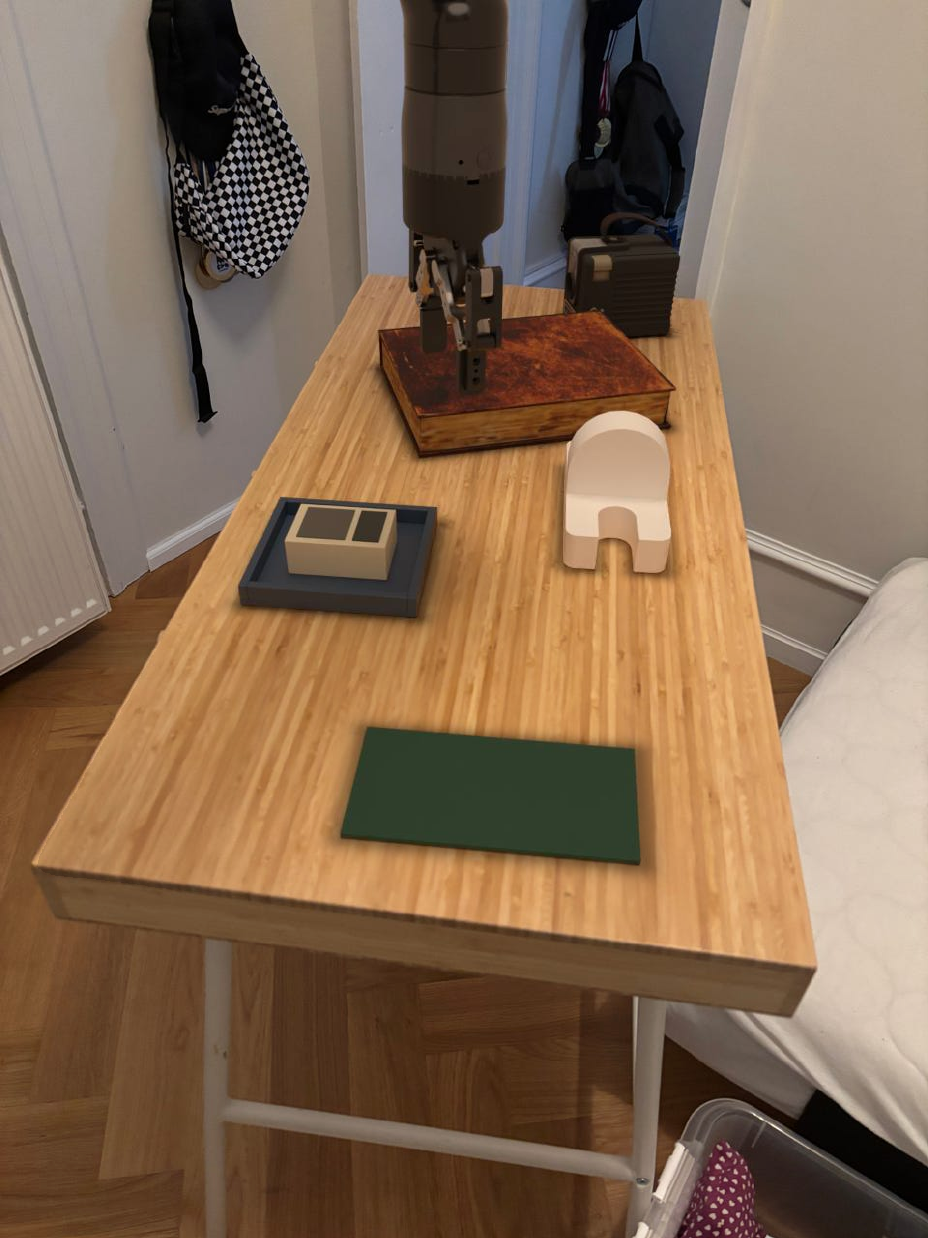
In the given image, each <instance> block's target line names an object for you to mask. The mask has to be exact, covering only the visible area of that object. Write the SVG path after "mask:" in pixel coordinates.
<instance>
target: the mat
mask: <svg viewBox="0 0 928 1238" xmlns="http://www.w3.org/2000/svg"><path fill="white" fill-rule="evenodd" d="M636 766H637V765H636V750H635V748H630V747H629V748H628V747H619V746H618V747H616V746H606V745H593V744H583V743H581V744H580V743H569V742H559V741H558V742H555V741H546V740H544V741H543V740H534V739H533V740H532V739H521V738H508V737H507V738H506V737H495V736H486V735H485V736H484V735H483V736H482V735H473V734H459V733H450V732H449V733H447V732H436V731H423V730H414V729H413V730H411V729H399V728H386V727H375V726H374V727H373V726H367V727H366V731H365V734H364V738H363V743H362V746H361V751H360V754H359V758H358V762H357V765H356V770H355V774H354V778H353V781H352V786H351V790H350V794H349V797H348V802H347V806H346V809H345V810H346V811H345V813H344V818H343V822H342V826H341V830H340V832H339V833H340V838H346V839H347V838H349V839H357V840H358V839H359V840H369V841H379V842H380V841H381V842H390V843H403V844H413V845H422V846H423V845H425V846H435V847H445V848H446V847H447V848H458V849H469V850H478V851H479V850H480V851H489V852H490V851H491V852H499V853H511V854H523V855H533V856H544V857H557V858H566V859H567V858H568V859H577V860H588V861H600V862H611V863H622V864H633V865H640V864H641V846H640V845H641V844H640V843H641V842H640V826H639V825H640V824H639V823H640V821H639V808H638V807H639V804H638V787H637V786H638V785H637V768H636Z"/></svg>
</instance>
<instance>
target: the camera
mask: <svg viewBox="0 0 928 1238" xmlns="http://www.w3.org/2000/svg"><path fill="white" fill-rule="evenodd" d="M620 220H636V221H642V222H644V223H647V224H649V225H651V226H654V227H655V228H656V229H658V230H659V231H660V233H661V234H662V236H663V238H664V239H663V238H662V237H660V236H659V235H658V234H657V233H656V234H655V233H651V234H648V233H647V234H633V235H631V234H630V235H608V230H609V227H610V226H611V225H612V224H613V223H615V222H617V221H620ZM599 230H600V236H599V235H598V236H597V235H596V236H594V235H593V236H573V237H571V238H569V239H568V241H567V251H566V263H565V277H564V291H563V304H562V314H563V313H574V312H585V311H596V310H601V311H602V312H603V313H604V314H605V315H606V316H607V317H608V318H609V319H610V320H611V321H612V322H613V323H614V324H615V325H616V326H617V327H618V328H619V329H620V330H621V331H622V332H623V333H624V334H625V336H626V337H627V338H630V337H642V336H643V337H644V336H656V335H659V336H660V335H668V334H669V333H670V328H671V322H672V320H671V316H672V310H673V304H674V298H675V291H676V285H677V278H678V271H679V270H680V264H681V255H680V254H679V252H678V251H676V250H675V249H674V245H673V242H672V239H671V238H670V236H669V235H668V233H667V232H666V231H665V229H663V228H662V227H660V225H658V224H657V223H656V222H654V221H653V220H652V219H650V218H648V217H646V216H644V215H641V214H638V213H633V212H623V211H620V212H613V213H611V214H608V215H606V216H605V217H604V218H603V220H601V223H600V228H599Z"/></svg>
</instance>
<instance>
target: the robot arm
mask: <svg viewBox="0 0 928 1238" xmlns="http://www.w3.org/2000/svg"><path fill="white" fill-rule="evenodd" d="M399 3H400V8H401V12H402V19H403V36H402V37H403V73H404V74H403V75H404V76H403V82H404V83H403V84H404V86H403V101H402V111H401V125H400V127H401V128H400V129H401V130H400V131H401V136H400V137H401V182H402V183H401V185H402V186H401V187H402V188H401V189H402V220H403V223H404V225H405V227H406V228H407V229H408V284H407V285H408V289H409V292H410V293H415V299H414V300H415V301H414V302H415V303H416V306H417V308H419V326H420V348H421V349H422V351H423V352H424V353H426V354H429V353H437V352H443V351H444V350H445V349H446V348H447V324H448V323H449V324H451V323H452V324H453V328H454V333H455V337H456V343H457V347H458V348H457V355H456V390H457V391H458V392H459V393H460V394H461V395H463V396H466V395H472V394H479V393H481V392H483V391H484V389H485V373H486V350H489V349H498V348H500V347H501V343H502V319H503V301H504V300H503V294H504V291H503V290H504V272H503V268H502V266H501V265H493V266H490V265H488V266H487V261H486V258H485V254H484V246H483V243H484V240H485V239H486V238H487V237H488V236H490V235H491V234H494V233H496V232H498V231H499V230H500V229H501V228H502V226H503V224H504V219H505V218H504V217H505V201H506V200H505V197H506V180H507V179H506V177H507V155H508V152H507V151H508V134H509V121H508V106H507V88H506V87H507V75H508V55H509V54H508V53H509V52H508V51H509V43H508V42H509V19H510V18H509V6H508V1H507V0H399ZM460 305H463V306H460ZM488 320H490V328H489V323H488ZM464 322H465V326H464ZM477 326H478V331H479V332H478V333H477Z"/></svg>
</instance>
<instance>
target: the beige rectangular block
mask: <svg viewBox="0 0 928 1238" xmlns="http://www.w3.org/2000/svg"><path fill="white" fill-rule="evenodd" d="M396 544H397V522H396V510H389V509H374V508H359V507H343V506H328V505H313V504H301V505H300V507H299V509H298V512H297V514H296V516H295V519H294V521H293V523H292V525H291V528H290V530H289V532H288V535H287V537H286V539H285V548H286V555H287V563H288V570H289V573H292V574H306V575H320V576H334V577H348V578H362V579H376V580H387V577H388V573H389V570H390V566H391V562H392V559H393V555H394V551H395V548H396Z"/></svg>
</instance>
